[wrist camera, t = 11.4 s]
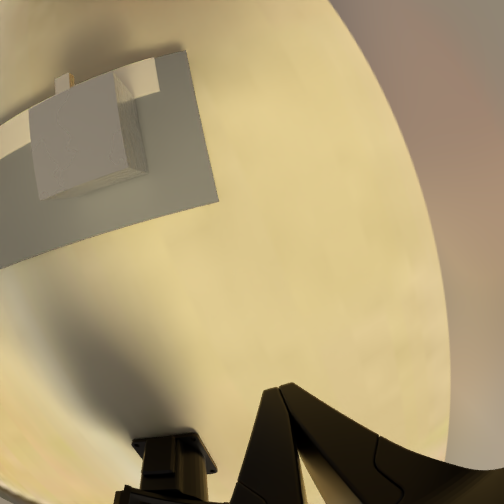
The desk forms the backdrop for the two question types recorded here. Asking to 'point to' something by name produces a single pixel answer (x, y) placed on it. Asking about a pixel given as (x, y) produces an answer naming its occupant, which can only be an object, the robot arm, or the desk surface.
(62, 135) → the grey faceted block
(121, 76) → the gauge board
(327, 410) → the robot arm
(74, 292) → the desk surface
